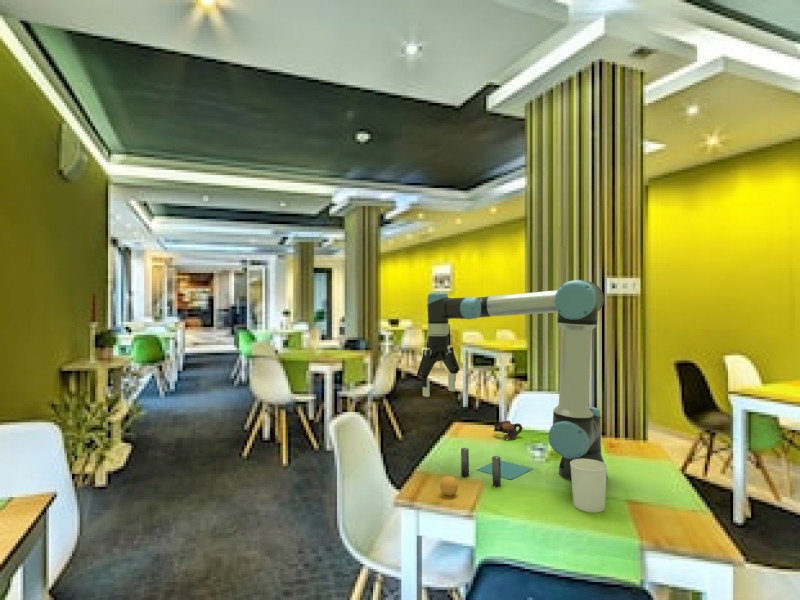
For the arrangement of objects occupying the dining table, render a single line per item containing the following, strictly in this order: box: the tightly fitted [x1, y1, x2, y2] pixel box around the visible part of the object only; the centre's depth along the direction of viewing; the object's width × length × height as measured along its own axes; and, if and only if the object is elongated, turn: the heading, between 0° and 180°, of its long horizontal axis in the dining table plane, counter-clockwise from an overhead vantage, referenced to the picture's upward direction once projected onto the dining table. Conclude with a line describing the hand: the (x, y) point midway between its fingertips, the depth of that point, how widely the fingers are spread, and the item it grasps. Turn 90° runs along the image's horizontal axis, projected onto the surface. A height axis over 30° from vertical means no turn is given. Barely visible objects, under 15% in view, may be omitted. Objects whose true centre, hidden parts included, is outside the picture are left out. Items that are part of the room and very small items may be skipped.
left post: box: [460, 447, 470, 478], centre depth 162 cm, size 3×3×9 cm
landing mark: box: [475, 459, 534, 481], centre depth 167 cm, size 14×14×1 cm
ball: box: [439, 475, 459, 497], centre depth 146 cm, size 6×6×6 cm
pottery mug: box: [493, 420, 523, 440], centre depth 206 cm, size 12×10×8 cm
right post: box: [491, 455, 502, 488], centre depth 153 cm, size 3×3×9 cm
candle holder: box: [570, 459, 608, 514], centre depth 136 cm, size 10×10×12 cm
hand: (439, 393), depth 174 cm, fingers open, 13 cm apart
